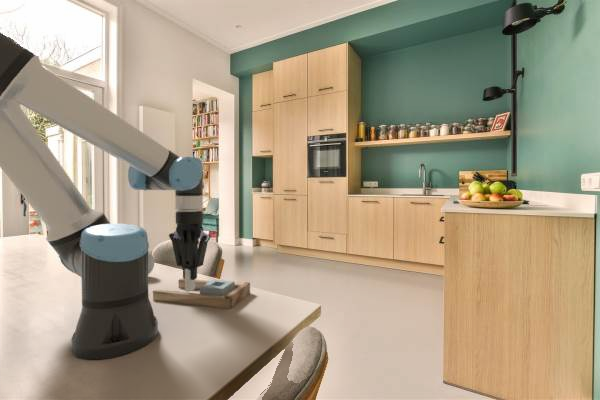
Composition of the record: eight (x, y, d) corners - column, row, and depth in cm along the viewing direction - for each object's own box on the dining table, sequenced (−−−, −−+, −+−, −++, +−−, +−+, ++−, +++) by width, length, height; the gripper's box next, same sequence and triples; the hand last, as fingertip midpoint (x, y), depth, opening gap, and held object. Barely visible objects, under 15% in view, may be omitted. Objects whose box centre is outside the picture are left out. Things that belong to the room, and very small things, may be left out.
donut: (156, 276, 108) (156, 248, 107) (150, 278, 104) (150, 250, 104) (130, 275, 109) (130, 247, 108) (124, 277, 105) (123, 249, 105)
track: (229, 308, 78) (229, 296, 78) (153, 299, 84) (152, 288, 84) (250, 293, 90) (250, 282, 90) (181, 286, 96) (181, 276, 96)
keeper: (222, 303, 82) (222, 288, 82) (200, 300, 84) (199, 286, 84) (234, 294, 89) (234, 281, 89) (213, 292, 90) (213, 279, 90)
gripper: (216, 210, 89) (216, 288, 90) (179, 209, 93) (180, 284, 94) (200, 211, 82) (201, 296, 83) (161, 210, 86) (162, 291, 87)
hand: (190, 289), depth 88 cm, fingers closed
